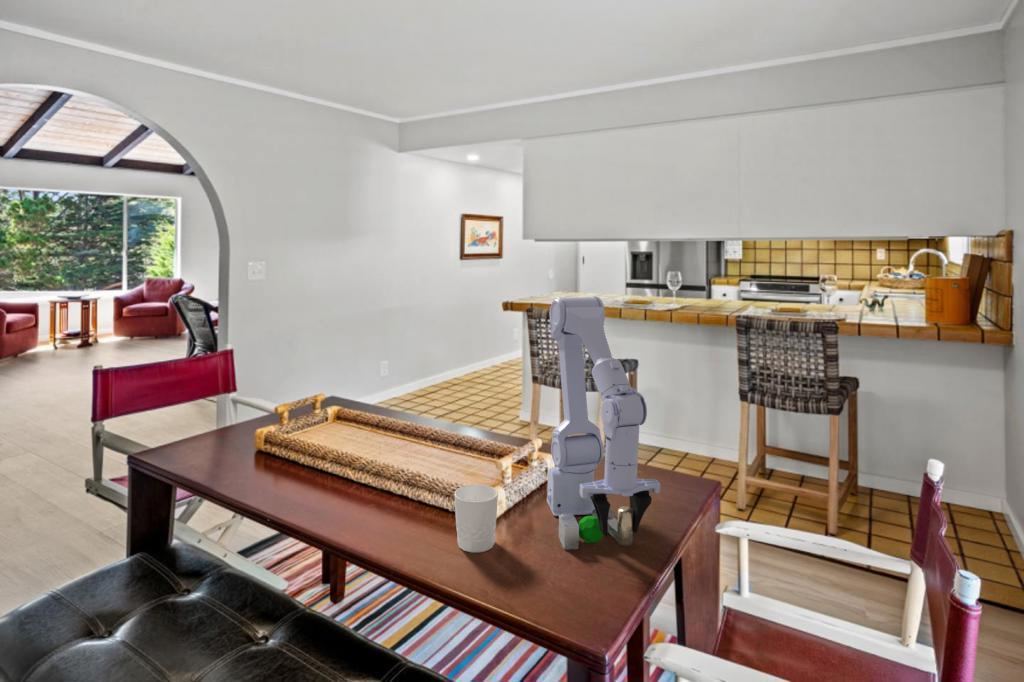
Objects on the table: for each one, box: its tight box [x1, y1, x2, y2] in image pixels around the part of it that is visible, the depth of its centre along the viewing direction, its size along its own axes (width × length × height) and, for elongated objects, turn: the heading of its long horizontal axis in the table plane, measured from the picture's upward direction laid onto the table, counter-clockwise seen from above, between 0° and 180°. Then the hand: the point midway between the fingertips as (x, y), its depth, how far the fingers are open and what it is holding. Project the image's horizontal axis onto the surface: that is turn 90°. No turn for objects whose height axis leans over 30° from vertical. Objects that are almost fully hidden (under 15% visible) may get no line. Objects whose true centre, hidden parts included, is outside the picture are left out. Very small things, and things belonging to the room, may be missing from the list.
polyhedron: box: [578, 515, 604, 544], centre depth 114 cm, size 5×5×5 cm
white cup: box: [453, 483, 499, 553], centre depth 112 cm, size 8×8×10 cm
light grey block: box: [557, 513, 580, 550], centre depth 113 cm, size 3×5×4 cm, turn 8°
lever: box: [591, 505, 634, 546], centre depth 115 cm, size 12×4×6 cm, turn 20°
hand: (618, 531), depth 111 cm, fingers open, 5 cm apart
